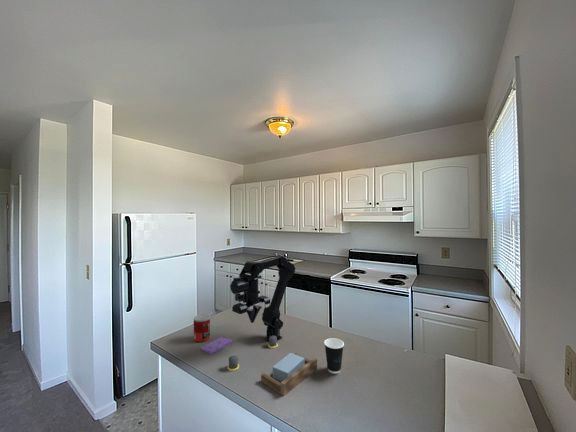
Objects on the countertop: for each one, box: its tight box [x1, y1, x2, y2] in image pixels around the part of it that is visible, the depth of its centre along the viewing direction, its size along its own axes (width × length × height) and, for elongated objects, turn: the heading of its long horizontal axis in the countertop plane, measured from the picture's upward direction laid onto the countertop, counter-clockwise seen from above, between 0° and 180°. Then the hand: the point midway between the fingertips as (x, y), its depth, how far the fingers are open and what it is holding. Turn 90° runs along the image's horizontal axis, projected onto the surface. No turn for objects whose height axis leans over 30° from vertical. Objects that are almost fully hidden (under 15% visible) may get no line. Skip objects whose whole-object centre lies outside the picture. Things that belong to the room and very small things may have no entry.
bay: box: [260, 352, 318, 397], centre depth 99 cm, size 20×12×4 cm, turn 139°
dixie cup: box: [323, 337, 345, 375], centre depth 102 cm, size 8×8×11 cm
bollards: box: [227, 336, 279, 372], centre depth 112 cm, size 28×5×4 cm, turn 139°
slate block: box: [272, 352, 306, 383], centre depth 100 cm, size 12×7×4 cm, turn 145°
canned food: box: [193, 314, 211, 343], centre depth 128 cm, size 8×8×11 cm
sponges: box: [200, 336, 232, 355], centre depth 121 cm, size 7×13×2 cm, turn 148°
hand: (252, 322), depth 118 cm, fingers closed
